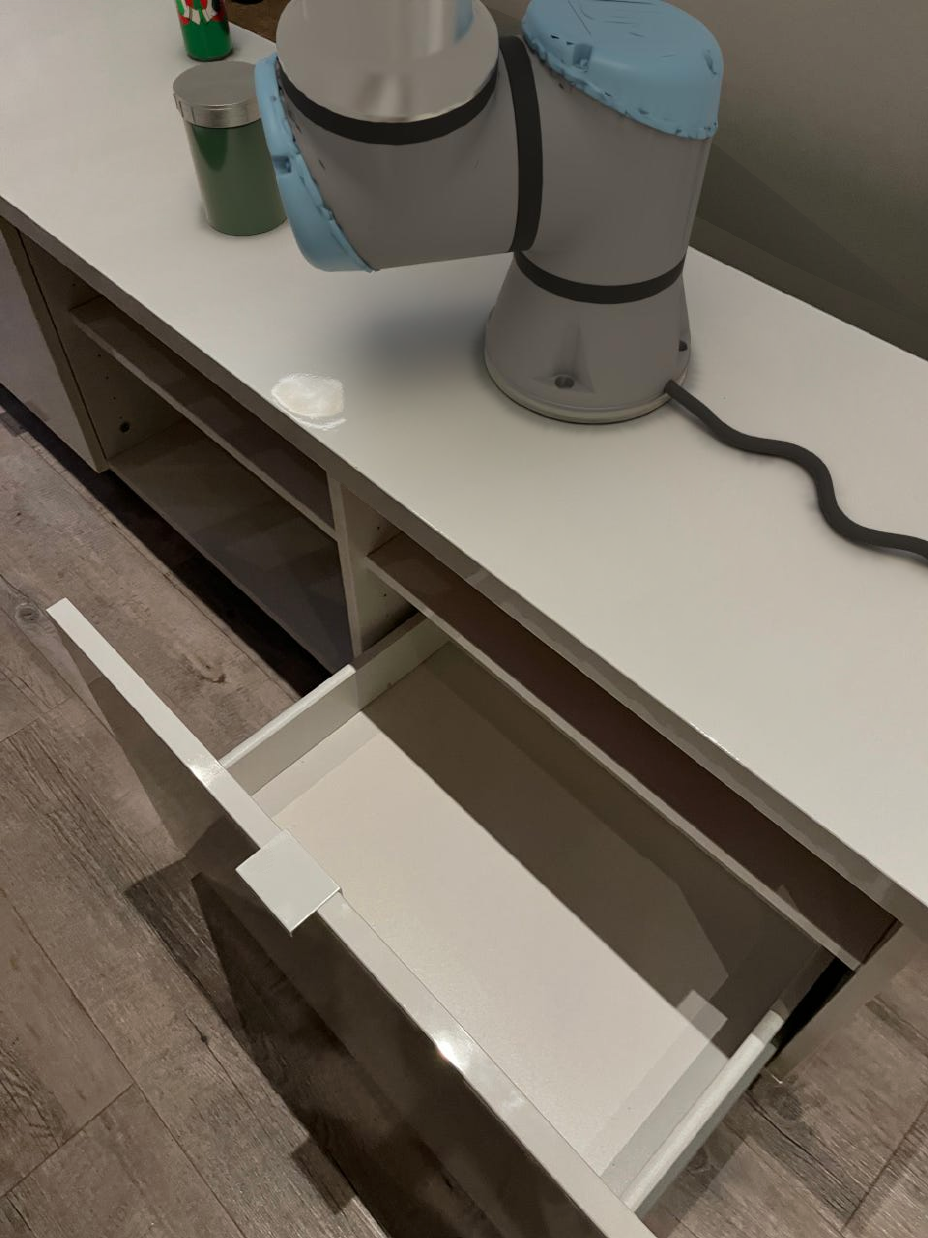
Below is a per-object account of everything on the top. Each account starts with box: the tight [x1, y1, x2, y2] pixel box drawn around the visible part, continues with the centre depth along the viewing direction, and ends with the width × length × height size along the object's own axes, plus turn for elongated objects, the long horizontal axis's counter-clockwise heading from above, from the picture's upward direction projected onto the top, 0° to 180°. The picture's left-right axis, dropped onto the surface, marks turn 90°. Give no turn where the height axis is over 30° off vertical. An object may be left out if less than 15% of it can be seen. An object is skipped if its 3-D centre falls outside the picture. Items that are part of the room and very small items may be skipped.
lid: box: [172, 60, 261, 128], centre depth 73 cm, size 8×8×2 cm
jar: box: [182, 118, 287, 237], centre depth 77 cm, size 7×7×10 cm
